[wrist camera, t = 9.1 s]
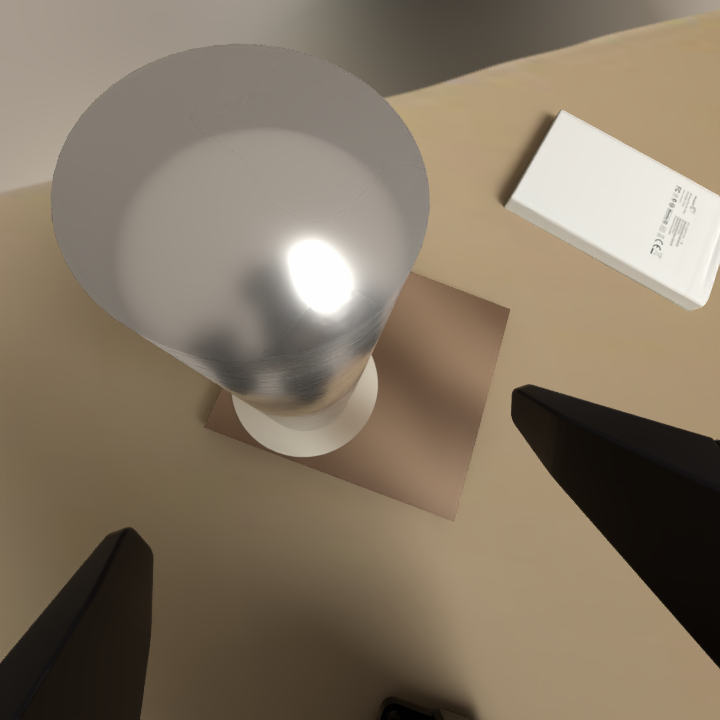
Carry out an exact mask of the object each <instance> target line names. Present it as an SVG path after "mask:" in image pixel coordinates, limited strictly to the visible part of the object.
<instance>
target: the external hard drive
mask: <svg viewBox="0 0 720 720" xmlns="http://www.w3.org/2000/svg"><path fill="white" fill-rule="evenodd" d="M504 208H506V209H507V210H509V211H511V212H513V213H515V214H516V215H518V216H520V217H522V218H524V219H525V220H527V221H529V222H530V223H532V224H534V225H536V226H538V227H540V228H541V229H543V230H545V231H547V232H549V233H550V234H552V235H554V236H556V237H557V238H559V239H561V240H563V241H565V242H566V243H568V244H570V245H572V246H573V247H575V248H577V249H579V250H581V251H582V252H584V253H586V254H588V255H590V256H591V257H593V258H595V259H597V260H598V261H600V262H602V263H604V264H606V265H607V266H609V267H611V268H613V269H614V270H616V271H618V272H620V273H622V274H623V275H625V276H627V277H629V278H630V279H632V280H634V281H636V282H638V283H639V284H641V285H643V286H645V287H646V288H648V289H650V290H652V291H654V292H655V293H657V294H659V295H661V296H662V297H664V298H666V299H668V300H670V301H672V302H673V303H675V304H677V305H678V306H680V307H682V308H684V309H686V310H687V311H692V310H695V309H697V308H700V307H702V306H704V305H705V303H706V302H707V300H708V298H709V295H710V292H711V289H712V286H713V283H714V280H715V276H716V273H717V270H718V267H719V264H720V196H719V195H717V194H715V193H713V192H712V191H710V190H708V189H706V188H704V187H702V186H701V185H699V184H697V183H695V182H694V181H692V180H690V179H688V178H686V177H684V176H683V175H681V174H679V173H677V172H675V171H674V170H672V169H670V168H668V167H666V166H665V165H663V164H661V163H659V162H657V161H655V160H654V159H652V158H650V157H648V156H646V155H644V154H643V153H641V152H639V151H637V150H635V149H633V148H632V147H630V146H628V145H626V144H624V143H623V142H621V141H619V140H617V139H615V138H613V137H612V136H610V135H608V134H606V133H604V132H602V131H601V130H599V129H597V128H595V127H593V126H591V125H590V124H588V123H586V122H584V121H582V120H580V119H578V118H577V117H575V116H573V115H571V114H569V113H567V112H566V111H564V110H560V112H559V113H558V115H557V116H556V118H555V119H554V121H553V122H552V124H551V126H550V128H549V129H548V131H547V133H546V135H545V136H544V138H543V140H542V142H541V143H540V145H539V147H538V149H537V150H536V152H535V154H534V156H533V157H532V159H531V161H530V163H529V165H528V166H527V168H526V170H525V172H524V173H523V175H522V177H521V179H520V180H519V182H518V184H517V185H516V187H515V189H514V191H513V192H512V194H511V196H510V198H509V199H508V201H507V203H506V204H505V206H504Z"/></svg>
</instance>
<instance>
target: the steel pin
mask: <svg viewBox="0 0 720 720" xmlns="http://www.w3.org/2000/svg"><path fill="white" fill-rule="evenodd" d="M429 208H430V207H429V185H428V179H427V174H426V168H425V165H424V162H423V159H422V156H421V153H420V150H419V148H418V146H417V144H416V142H415V140H414V138H413V136H412V134H411V132H410V131H409V129H408V128H407V126H406V125H405V123H404V122H403V120H402V119H401V117H400V116H399V115H398V114H397V113H396V111H395V110H394V109H393V108H392V107H391V106H390V104H389V103H388V102H387V101H386V100H385V99H383V98H382V97H381V96H380V95H379V94H378V93H377V92H376V91H375V90H374V89H372V88H371V87H370V86H368V85H367V84H365V83H364V82H363V81H361V80H360V79H359V78H357V77H356V76H354V75H352V74H350V73H349V72H347V71H345V70H343V69H342V68H340V67H338V66H336V65H334V64H331V63H329V62H327V61H324V60H322V59H320V58H317V57H314V56H311V55H308V54H305V53H302V52H298V51H294V50H289V49H285V48H280V47H273V46H265V45H257V44H255V45H254V44H228V45H214V46H208V47H202V48H196V49H191V50H187V51H183V52H180V53H176V54H172V55H169V56H167V57H164V58H162V59H159V60H156V61H154V62H152V63H149V64H147V65H145V66H143V67H141V68H139V69H137V70H135V71H134V72H132V73H130V74H128V75H127V76H125V77H124V78H122V79H121V80H119V81H118V82H116V83H115V84H114V85H112V86H111V87H110V88H109V89H108V90H106V91H105V92H104V93H103V94H102V95H100V96H99V97H98V98H97V99H96V100H95V101H94V102H93V103H92V104H91V105H90V107H89V108H88V109H87V110H86V111H85V112H84V113H83V114H82V116H81V117H80V118H79V120H78V121H77V123H76V124H75V126H74V127H73V129H72V130H71V132H70V134H69V135H68V137H67V139H66V141H65V143H64V146H63V148H62V150H61V152H60V155H59V158H58V161H57V165H56V168H55V171H54V175H53V183H52V191H51V210H52V221H53V226H54V230H55V235H56V239H57V242H58V245H59V247H60V250H61V252H62V255H63V257H64V260H65V262H66V264H67V265H68V267H69V269H70V270H71V272H72V274H73V275H74V277H75V278H76V280H77V282H78V283H79V284H80V285H81V287H82V288H83V289H84V290H85V291H86V292H87V294H88V295H89V296H90V297H91V298H92V300H93V301H94V302H95V303H97V304H98V305H99V306H100V307H101V308H102V309H103V310H105V311H106V312H107V313H108V314H109V315H110V316H112V317H113V318H114V319H116V320H117V321H119V322H120V323H122V324H123V325H125V326H126V327H128V328H130V329H131V330H133V331H134V332H136V333H137V334H139V335H140V336H142V337H144V338H145V339H147V340H148V341H150V342H151V343H153V344H155V345H156V346H158V347H159V348H161V349H162V350H164V351H166V352H167V353H169V354H170V355H172V356H173V357H175V358H177V359H178V360H180V361H181V362H183V363H184V364H186V365H188V366H189V367H191V368H192V369H194V370H195V371H197V372H198V373H200V374H202V375H203V376H205V377H206V378H208V379H209V380H211V381H213V382H214V383H216V384H217V385H219V386H220V387H222V388H224V389H225V390H227V391H228V392H230V393H231V394H233V395H235V396H236V397H238V398H239V399H241V400H242V401H244V402H246V403H247V404H249V405H250V406H252V407H253V408H255V409H257V410H258V411H260V412H261V413H263V414H264V415H266V416H267V417H269V418H271V419H272V420H274V421H275V422H277V423H278V424H280V425H282V426H284V427H286V428H289V429H292V430H296V431H313V430H317V429H320V428H323V427H325V426H327V425H329V424H331V423H332V422H334V421H335V420H336V419H337V418H338V417H339V416H340V415H341V414H342V413H343V412H344V410H345V409H346V407H347V406H348V403H349V401H350V399H351V397H352V395H353V393H354V391H355V388H356V386H357V384H358V382H359V380H360V378H361V376H362V373H363V371H364V369H365V367H366V365H367V363H368V361H369V359H370V356H371V354H372V352H373V350H374V348H375V346H376V344H377V341H378V339H379V337H380V335H381V333H382V331H383V329H384V326H385V324H386V322H387V320H388V318H389V316H390V314H391V312H392V309H393V307H394V305H395V303H396V301H397V299H398V297H399V294H400V292H401V290H402V288H403V286H404V284H405V282H406V279H407V277H408V275H409V273H410V271H411V269H412V267H413V264H414V262H415V260H416V258H417V256H418V254H419V251H420V249H421V247H422V243H423V240H424V236H425V233H426V229H427V224H428V216H429Z"/></svg>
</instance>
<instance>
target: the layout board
mask: <svg viewBox="0 0 720 720" xmlns="http://www.w3.org/2000/svg"><path fill="white" fill-rule="evenodd" d="M509 312H510V309H508V308H505V307H503V306H500V305H497V304H495V303H492V302H489V301H487V300H484V299H481V298H479V297H476V296H473V295H471V294H468V293H465V292H463V291H460V290H457V289H455V288H452V287H449V286H447V285H444V284H442V283H439V282H436V281H434V280H431V279H428V278H426V277H423V276H420V275H418V274H415V273H412V272H410V273H409V275H408V277H407V279H406V282H405V284H404V286H403V288H402V290H401V292H400V294H399V297H398V299H397V301H396V303H395V305H394V307H393V309H392V312H391V314H390V316H389V318H388V320H387V322H386V324H385V326H384V329H383V331H382V333H381V335H380V337H379V339H378V341H377V344H376V346H375V348H374V350H373V352H372V354H371V356H370V359H369V361H368V363H367V365H366V367H365V369H364V371H363V373H362V376H361V378H360V380H359V382H358V384H357V386H356V388H355V391H354V393H353V395H352V397H351V399H350V401H349V403H348V406H347V407H346V409H345V410H344V412H343V413H342V414H341V415H340V416H339V417H338V418H337V419H336V420H335V421H334V422H332V423H331V424H329V425H327V426H325V427H323V428H320V429H317V430H313V431H296V430H292V429H289V428H286V427H284V426H282V425H280V424H278V423H277V422H275V421H274V420H272V419H271V418H269V417H267V416H266V415H264V414H263V413H261V412H260V411H258V410H257V409H255V408H253V407H252V406H250V405H249V404H247V403H246V402H244V401H242V400H241V399H239V398H238V397H236V396H235V395H233V394H231V393H230V392H228V391H227V390H225V389H224V388H222V390H221V392H220V394H219V396H218V398H217V400H216V402H215V404H214V406H213V409H212V411H211V413H210V415H209V417H208V419H207V421H206V423H205V425H204V427H205V428H207V429H210V430H213V431H215V432H218V433H221V434H223V435H226V436H229V437H231V438H234V439H237V440H239V441H242V442H245V443H247V444H250V445H253V446H255V447H258V448H261V449H263V450H266V451H268V452H271V453H274V454H276V455H279V456H282V457H284V458H287V459H290V460H292V461H295V462H298V463H300V464H303V465H306V466H308V467H311V468H314V469H316V470H319V471H321V472H324V473H327V474H329V475H332V476H335V477H337V478H340V479H343V480H345V481H348V482H351V483H353V484H356V485H359V486H361V487H364V488H367V489H369V490H372V491H375V492H377V493H380V494H382V495H385V496H388V497H390V498H393V499H396V500H398V501H401V502H404V503H406V504H409V505H412V506H414V507H417V508H420V509H422V510H425V511H428V512H430V513H433V514H436V515H438V516H441V517H443V518H446V519H449V520H451V521H454V520H455V516H456V513H457V509H458V505H459V501H460V497H461V494H462V490H463V486H464V482H465V479H466V475H467V471H468V467H469V463H470V460H471V456H472V452H473V448H474V444H475V441H476V437H477V433H478V429H479V426H480V422H481V418H482V414H483V410H484V407H485V403H486V399H487V395H488V391H489V388H490V384H491V380H492V376H493V373H494V369H495V365H496V361H497V357H498V354H499V350H500V346H501V342H502V339H503V335H504V331H505V327H506V323H507V320H508V316H509Z"/></svg>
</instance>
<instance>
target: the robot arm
mask: <svg viewBox="0 0 720 720" xmlns="http://www.w3.org/2000/svg"><path fill="white" fill-rule="evenodd" d="M511 416H512V420H513V422H514V424H515V425H516V427H517V428H518V430H519V431H520V433H521V434H522V435H523V437H524V438H525V440H526V441H527V442H528V444H529V445H530V447H531V448H532V449H533V451H534V452H535V454H536V455H537V457H538V458H539V459H540V461H541V462H542V464H543V465H544V466H545V468H546V469H547V470H548V472H549V473H550V474H551V476H552V477H553V478H554V479H555V480H556V482H557V483H558V484H559V485H560V486H561V487H562V489H563V490H564V491H565V492H566V493H567V494H568V495H569V497H570V498H571V499H572V500H573V501H574V502H575V503H576V505H577V506H578V507H579V508H580V509H581V510H582V511H583V513H584V514H585V515H586V516H587V517H588V518H589V519H590V521H591V522H592V523H593V524H594V525H595V526H596V528H597V529H598V530H599V531H600V532H601V533H602V534H603V536H604V537H605V538H606V539H607V540H608V541H609V542H610V544H611V545H612V546H613V547H614V548H615V549H616V550H617V552H618V553H619V554H620V555H621V556H622V557H623V558H624V560H625V561H626V562H627V563H628V564H629V565H630V566H631V568H632V569H633V570H634V571H635V572H636V573H637V574H638V576H639V577H640V578H641V579H642V580H643V581H644V582H645V584H646V585H647V586H648V587H649V588H650V589H651V591H652V592H653V593H654V594H655V595H656V596H657V597H658V599H659V600H660V601H661V602H662V603H663V604H664V605H665V607H666V608H667V609H668V610H669V611H670V612H671V613H672V615H673V616H674V617H675V618H676V619H677V620H678V621H679V623H680V624H681V625H682V626H683V627H684V628H685V629H686V631H687V632H688V633H689V634H690V635H691V636H692V637H693V639H694V640H695V641H696V642H697V643H698V644H699V645H700V647H701V648H702V649H703V650H704V651H705V652H706V654H707V655H708V656H709V657H710V658H711V659H712V660H713V662H714V663H715V664H716V665H717V666H718V667H719V668H720V440H713V439H712V438H710V437H707V436H704V435H700V434H697V433H694V432H690V431H687V430H683V429H680V428H677V427H673V426H670V425H666V424H663V423H660V422H656V421H653V420H650V419H646V418H643V417H639V416H636V415H633V414H629V413H626V412H623V411H619V410H616V409H612V408H609V407H606V406H602V405H599V404H596V403H592V402H589V401H585V400H582V399H579V398H575V397H572V396H568V395H565V394H562V393H558V392H555V391H552V390H548V389H545V388H541V387H538V386H535V385H531V384H527V385H524V386H521V387H518V388H516V389H514V390H513V392H512V403H511ZM152 591H153V553H152V550H151V548H150V546H149V545H148V544H147V543H146V542H145V541H144V540H143V538H142V537H141V536H140V535H139V534H138V533H137V532H136V531H135V530H134V529H133V528H131V527H126V528H123V529H121V530H118V531H115V532H112V533H110V534H108V535H107V536H106V537H105V538H104V539H103V541H102V542H101V543H100V544H99V545H98V547H97V548H96V549H95V550H94V551H93V553H92V554H91V555H90V556H89V557H88V559H87V560H86V561H85V562H84V563H83V565H82V566H81V567H80V568H79V569H78V571H77V572H76V573H75V574H74V575H73V577H72V578H71V579H70V580H69V581H68V583H67V584H66V585H65V586H64V587H63V589H62V590H61V591H60V592H59V593H58V595H57V596H56V597H55V598H54V599H53V601H52V602H51V603H50V604H49V605H48V607H47V608H46V609H45V610H44V611H43V613H42V614H41V615H40V616H39V617H38V619H37V620H36V621H35V622H34V623H33V625H32V626H31V627H30V628H29V629H28V631H27V632H26V633H25V634H24V635H23V637H22V638H21V639H20V640H19V641H18V643H17V644H16V645H15V646H14V647H13V649H12V650H11V651H10V652H9V653H8V655H7V656H6V657H5V658H4V659H3V661H2V662H1V663H0V720H140V715H141V707H142V700H143V692H144V685H145V677H146V670H147V662H148V655H149V647H150V638H151V624H152ZM391 711H397V712H398V714H397V716H396V717H395V718H394V719H389V718H388V717H387V716H388V714H389V712H391ZM377 720H471V719H468V718H466V717H463V716H461V715H458V714H455V713H453V712H450V711H447V710H445V709H442V708H438V709H436V710H434V711H431V710H428V709H425V708H423V707H420V706H417V705H415V704H412V703H409V702H407V701H404V700H402V699H399V698H396V697H389V698H386V699H385V700H384V701H383V702H382V705H381V707H380V710H379V713H378V717H377Z"/></svg>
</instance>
